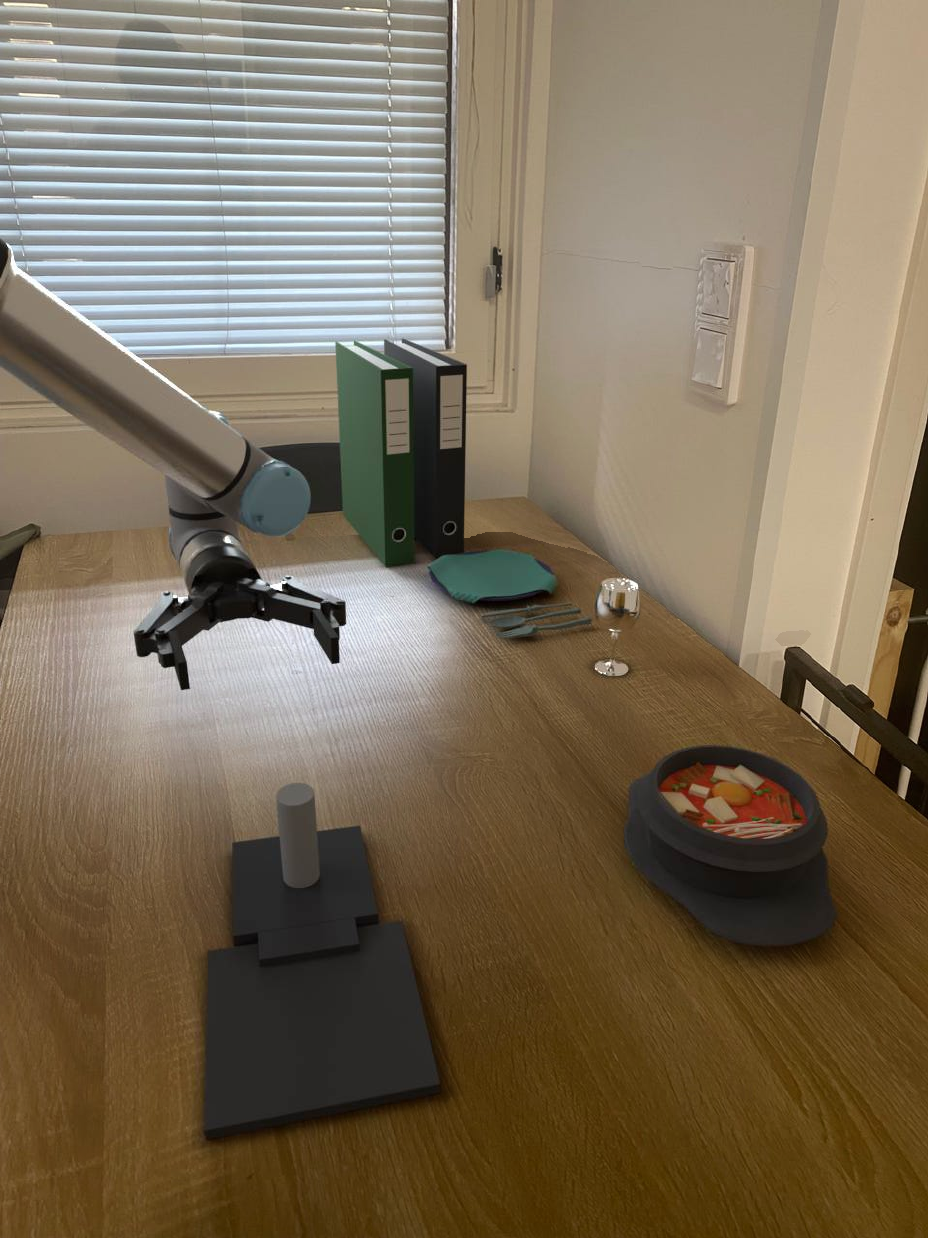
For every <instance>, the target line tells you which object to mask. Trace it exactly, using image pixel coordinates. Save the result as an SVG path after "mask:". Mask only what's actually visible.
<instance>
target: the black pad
mask: <svg viewBox="0 0 928 1238" xmlns="http://www.w3.org/2000/svg"><path fill="white" fill-rule="evenodd" d="M357 933H358V939H359V947H360V950H359V951H354V952H348V953H342V954H336V955H330V956H324V957H318V958H311V959H305V960H299V961H293V962H287V963H281V964H275V965H268V966H262V967H260V964H259V947H258V943H255V944H248V945H242V946H236V947H234V946H230V947H224V948H217V949H210V950H208V951H207V977H206V978H207V980H206V1019H205V1020H206V1021H205V1025H206V1026H205V1067H204V1068H205V1069H204V1108H203V1109H204V1110H203V1112H204V1113H203V1114H204V1115H203V1133H204V1139H205V1140H206V1141H209V1140H214V1139H219V1138H224V1137H228V1136H233V1135H238V1134H243V1133H249V1132H253V1131H258V1130H264V1129H268V1128H273V1127H278V1126H283V1125H288V1124H293V1123H298V1122H302V1121H307V1120H308V1121H309V1120H313V1119H318V1118H323V1117H328V1116H333V1115H338V1114H343V1113H348V1112H352V1111H353V1112H354V1111H357V1110H358V1111H359V1110H364V1109H368V1108H372V1107H377V1106H382V1105H387V1104H393V1103H397V1102H403V1101H408V1100H413V1099H417V1098H422V1097H427V1096H432V1095H438V1094H441V1081H440V1076H439V1071H438V1067H437V1063H436V1058H435V1055H434V1052H433V1051H434V1050H433V1046H432V1043H431V1042H432V1041H431V1038H430V1034H429V1030H428V1025H427V1020H426V1017H425V1013H424V1008H423V1004H422V999H421V995H420V992H419V987H418V984H417V978H416V974H415V971H414V967H413V961H412V958H411V953H410V949H409V945H408V940H407V936H406V933H405V929H404V923H403V921H402V920H401V919H400V920H394V921H388V922H383V923H379V924H375V925H369V926H362V927H357Z"/></svg>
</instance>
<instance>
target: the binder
mask: <svg viewBox="0 0 928 1238" xmlns="http://www.w3.org/2000/svg"><path fill="white" fill-rule="evenodd" d="M335 366H336V387H337V388H336V389H337V409H338V410H337V412H338V432H339V454H340V456H339V458H340V477H341V496H342V497H341V500H342V516H343V517H344V518H345V520H346V521H347V522H348V523H349V524H350V525H351V527H352V528H353V530H354V531H355V532H356V533H357V534H358V535H359V537H360V538H361V539H362V540H363V541H364V543H365V544H366V545H367V547H369V549H370V551H372V552H373V554H374V555H375V556H376V558H378V560H379V561H380V562H381V563H382V565H383V566H384V567H385V568H387V567H393V566H399V565H401V566H402V565H406V564H408V565H409V564H414V563H415V560H416V559H415V557H416V556H415V555H416V554H415V553H416V552H415V540H416V541H417V542H418V543H419V544H420V545H421V546H422V547H423V548H424V549H425V550H426V551H427V552H428V553H429V554H430V555H431V556H432V558H433V559H434V560H437V559H438V558H440V557H441V556H443V555H453V554H458V553H463V552H465V513H466V512H465V511H466V509H465V506H466V505H465V504H466V496H465V495H466V450H467V449H466V447H467V444H466V443H467V442H466V441H467V394H468V393H467V388H468V386H467V385H468V383H467V382H468V381H467V380H468V363H465V362H462V361H460V360H457V359H455V358H452V357H450V356H447V355H445V354H442V353H440V352H438V351H435V350H433V349H431V348H428V347H425V346H423V345H420V344H418V343H416V342H413V341H412V340H411V341H410V340H409V339H406V338H401V343H394V342H392V341H389V340H388V339H386V338H383V353H382V352H380V351H378V350H376V349H374V348H372V347H369V346H367V345H365V344H363V343H361V342H359V341H356V340H353V345H346V346H345V345H343V344H342V343H340V342H339V341H335Z"/></svg>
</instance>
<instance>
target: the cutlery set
mask: <svg viewBox="0 0 928 1238" xmlns="http://www.w3.org/2000/svg"><path fill="white" fill-rule="evenodd" d="M427 568H428V570H429V571H428V575H429V579H430V581H431V583H432V584H433V585H435V586H436V587H437V588H438V589H440V590H441V591H442V592H443V591H444V592H446V593H448V594H450V596H451V597H452V598H453V599H455V600H459V601H464V602H468V603H471V604H474V603H475V602H477V601H487V602H503V601H504V602H506V601H508V602H509V601H516V600H521V599H525V598H526V599H527V598H531V597H533V596H535V595H537V594H540V593H542V592H544V591H548V592H549V595H551V594H552V593H553V592H554V591H555V590H556V589H557V586H558V580H557V577H556V576H555V573H554V571H553V570H552V569H551V567H550V565H548V564H546V563H544V562H543V561H541V560H540V559H537V558H535V557H533V556H532V555H531V554H529V553H527V554H526V553H524V552H520V551H514V550H509V549H501V548H496V549H493V550H492V549H490V550H489V549H486V550H485V549H483V550H469V551H464V552H463V553H458V554H453V555H443V556H441V557H440V558H438V559H434V561H432V562H431V563H429V565H427ZM568 606H570V607H571V608H568V609H563V610H558V611H552V612H548V613H545V614H544V613H543V614H540V615H536V616H532V617H528V618H526V617H523V616H517V615H515V614H520V613H528V615H531V613H532V612H540V611H542V610H543V609H550V608H555V607H556V608H557V607H568ZM572 607H573V603H572V602H571V601H568V602H563V603H558V604H546V605H540V604H533V605H531V606H530V605H528V604H526V607H523V608H511V609H510V608H509V609H503V610H495V611H488V612H485V613H483V614H481V616H480V618H481V619H484V618H485V619H486V618H492V617H495V618H492V619H491V620H488V621H487V624H488V625H489V626H490V627H492V628H497V629H504V630H507V631H503V632H502V631H501V632H495V635H496V636H497V637H498V639H505V640H506V639H512V638H523V637H531V636H534V635H536V634H537V633H538V632H539V631H541V632H542V631H557V630H564V629H569V628H574V627H577V626H590V625H592V620H593V619H592V617H589V616H587V617H583V618H578V619H573V620H570V621H565V622H561V623H555V624H546V625H545V624H544V625H536V624H535V623H534V624H532V625H528V624H526V625H524V626H522V625H523V624H524V623H528V622H533V621H536V620H537V621H538V620H542V619H547V618H552V617H561V616H568V615H570V616H571V615H581V614H582V609H581V608H580V607H573V608H572ZM513 614H514V615H513ZM506 615H507V616H506ZM520 626H522V627H520ZM509 629H510V630H509Z"/></svg>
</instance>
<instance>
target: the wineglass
mask: <svg viewBox="0 0 928 1238" xmlns="http://www.w3.org/2000/svg"><path fill="white" fill-rule="evenodd" d="M594 615H595V616H594V617H595V620H596V622H597V624H598V625H599V626H600V627H601V628H602V629H604V630H606V631H609V632H611V634H610V643H611V650H610V658H609V659H608V658H607V659H601V660H598V661H596V662H595V664H594V670H595V671H596V672H597V673H599V674H601V675H603V676H608V677H621V676H624V675H626V674H627V673H628V672H629V666H628V665H627V664H626V663H624V662H623V661H620V660H617V659H615V656H616V655H615V653H616V646H617V643H618V641H619V633H623V632H627V631H630V630H631V629H633V628H634V627H635V626H636V625H637V623H638V621H639V619H640V615H641V595H640V589H639V585H638V583H637V582H635V581H634V580H631V579H628V578H623V577H612V578H606V579H604V580H602V582H601V584H600V585H599V588H598V592H597V594H596V598H595V603H594Z"/></svg>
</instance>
